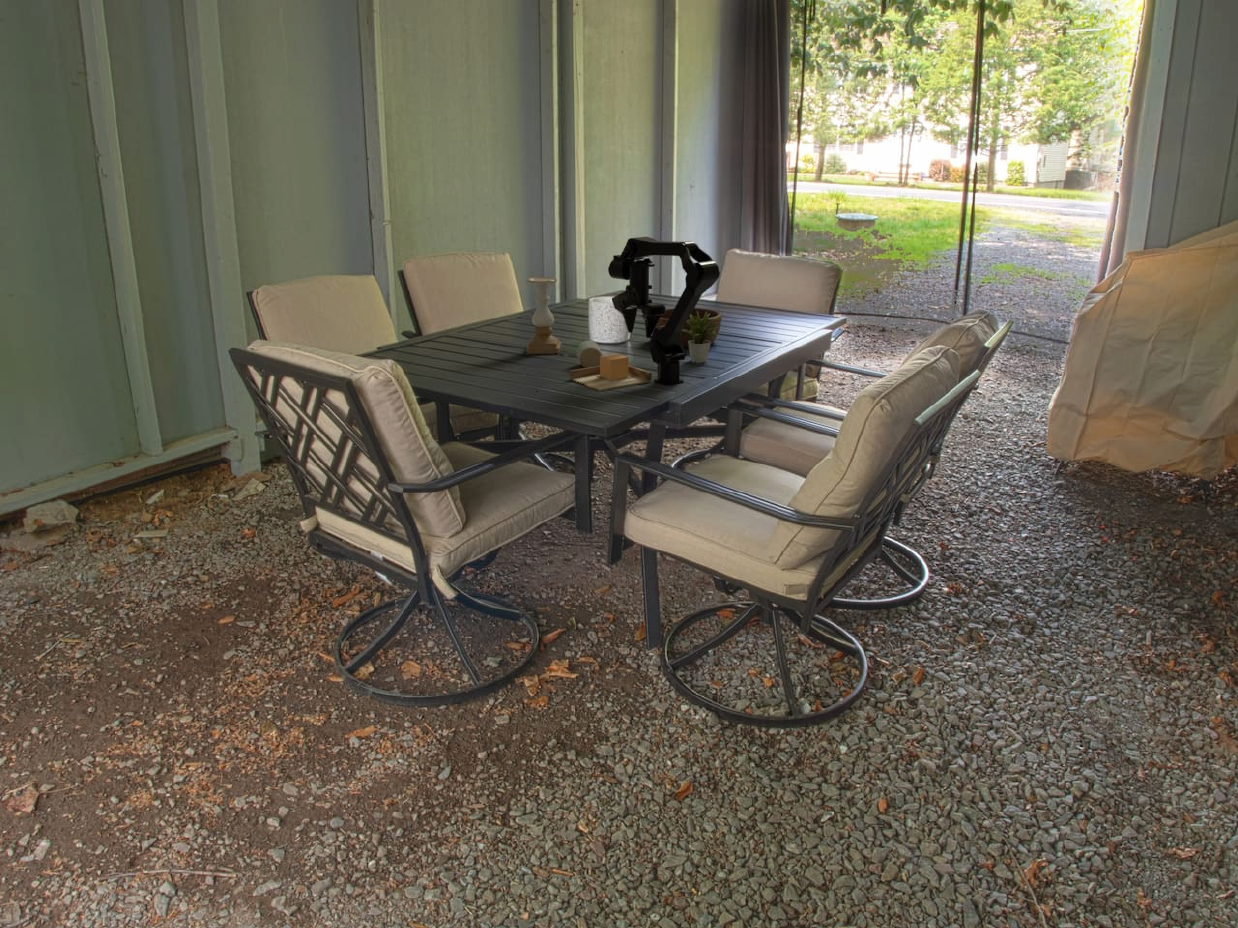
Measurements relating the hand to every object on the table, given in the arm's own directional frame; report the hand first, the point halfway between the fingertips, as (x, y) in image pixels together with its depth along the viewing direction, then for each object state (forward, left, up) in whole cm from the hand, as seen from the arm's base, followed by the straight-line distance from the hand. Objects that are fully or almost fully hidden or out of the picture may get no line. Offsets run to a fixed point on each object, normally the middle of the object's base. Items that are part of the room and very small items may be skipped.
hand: (639, 335), depth 258 cm
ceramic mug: (+17, +5, -12) cm, 22 cm away
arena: (-1, +11, -12) cm, 16 cm away
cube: (0, +9, -11) cm, 14 cm away
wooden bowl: (+28, -39, -12) cm, 50 cm away
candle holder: (+46, +7, -12) cm, 48 cm away
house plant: (+2, -25, -12) cm, 28 cm away
